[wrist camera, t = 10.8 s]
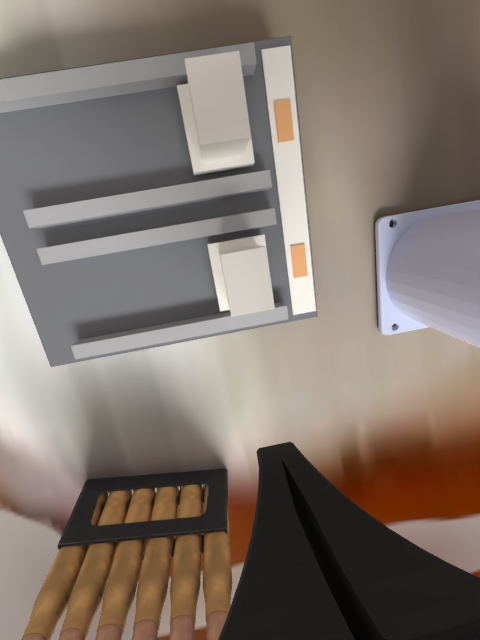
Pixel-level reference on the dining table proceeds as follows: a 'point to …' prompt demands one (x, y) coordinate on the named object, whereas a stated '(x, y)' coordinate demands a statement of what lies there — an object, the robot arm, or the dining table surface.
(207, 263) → the switch bank
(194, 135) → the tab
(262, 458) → the robot arm
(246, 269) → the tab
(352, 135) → the dining table surface
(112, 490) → the ammunition clip
